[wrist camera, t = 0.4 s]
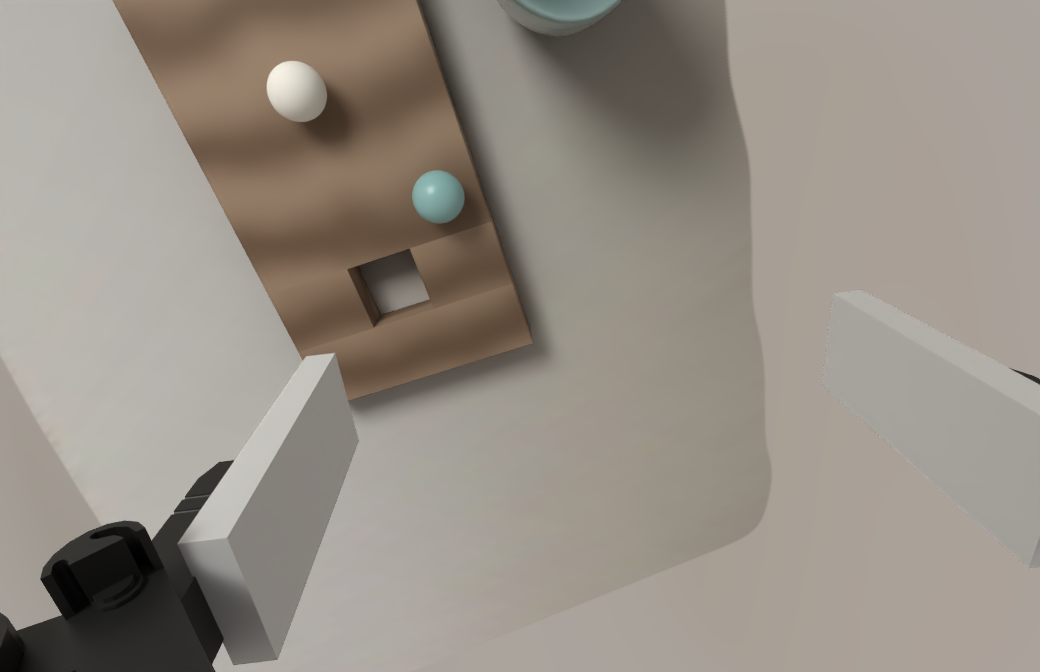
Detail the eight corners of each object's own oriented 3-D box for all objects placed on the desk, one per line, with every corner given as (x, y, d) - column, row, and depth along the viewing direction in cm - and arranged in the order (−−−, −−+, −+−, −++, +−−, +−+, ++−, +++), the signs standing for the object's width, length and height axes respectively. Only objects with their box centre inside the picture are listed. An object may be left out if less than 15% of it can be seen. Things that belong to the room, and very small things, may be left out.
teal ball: (407, 176, 36) (400, 183, 33) (455, 160, 35) (452, 166, 32) (426, 224, 37) (420, 235, 34) (472, 209, 37) (470, 218, 34)
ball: (268, 73, 33) (246, 70, 30) (319, 54, 33) (302, 50, 30) (293, 128, 34) (274, 131, 31) (342, 111, 34) (328, 112, 31)
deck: (133, -3, 33) (107, -10, 31) (385, -99, 32) (377, -115, 30) (336, 391, 44) (327, 407, 42) (530, 330, 43) (532, 343, 41)
